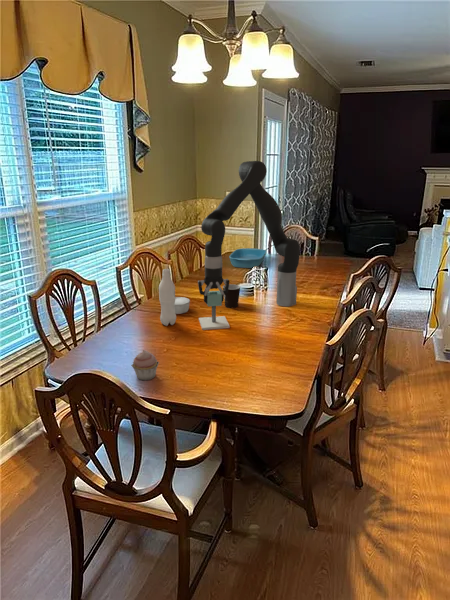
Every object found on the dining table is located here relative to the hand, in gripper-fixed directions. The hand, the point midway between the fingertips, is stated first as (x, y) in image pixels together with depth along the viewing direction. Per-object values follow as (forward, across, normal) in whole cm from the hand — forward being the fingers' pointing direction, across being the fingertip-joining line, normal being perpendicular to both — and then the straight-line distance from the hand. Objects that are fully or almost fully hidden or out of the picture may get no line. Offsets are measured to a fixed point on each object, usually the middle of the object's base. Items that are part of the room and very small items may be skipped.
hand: (213, 302), depth 197 cm
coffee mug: (+10, -13, -23) cm, 28 cm away
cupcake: (+10, +31, +43) cm, 54 cm away
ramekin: (+10, +14, -20) cm, 27 cm away
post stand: (+10, 0, 0) cm, 10 cm away
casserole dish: (+11, -41, -104) cm, 112 cm away
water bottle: (+10, +20, -4) cm, 23 cm away
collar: (+1, 0, 0) cm, 1 cm away
